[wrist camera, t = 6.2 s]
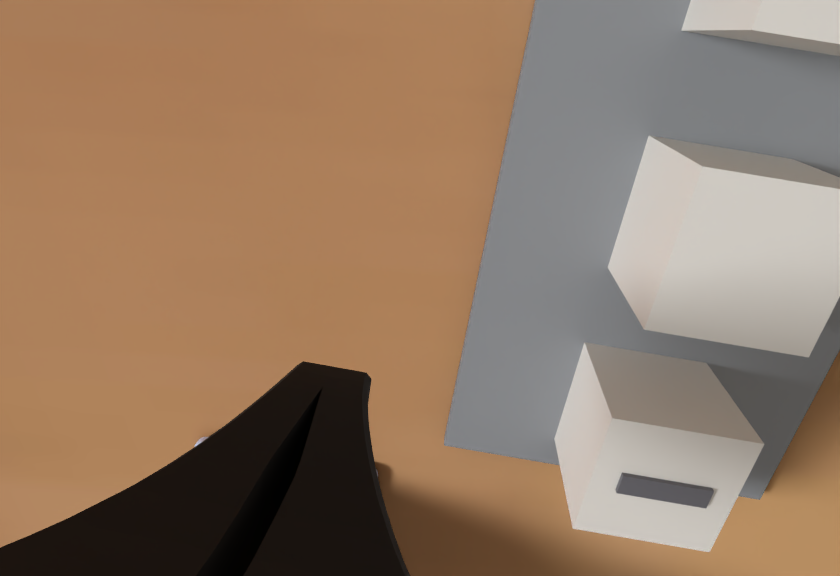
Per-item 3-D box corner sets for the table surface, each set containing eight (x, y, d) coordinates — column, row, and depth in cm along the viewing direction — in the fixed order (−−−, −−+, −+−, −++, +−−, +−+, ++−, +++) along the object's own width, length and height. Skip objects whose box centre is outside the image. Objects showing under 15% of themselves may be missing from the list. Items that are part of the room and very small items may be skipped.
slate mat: (753, 489, 24) (760, 499, 23) (444, 435, 24) (444, 445, 23) (1091, -161, 14) (1115, -168, 14) (584, -239, 15) (589, -250, 14)
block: (670, 458, 23) (716, 557, 18) (554, 438, 23) (573, 532, 18) (710, 363, 21) (772, 448, 16) (584, 342, 21) (613, 421, 17)
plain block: (737, 289, 19) (808, 357, 15) (607, 267, 20) (644, 329, 15) (792, 158, 18) (890, 197, 14) (648, 135, 18) (702, 166, 14)
